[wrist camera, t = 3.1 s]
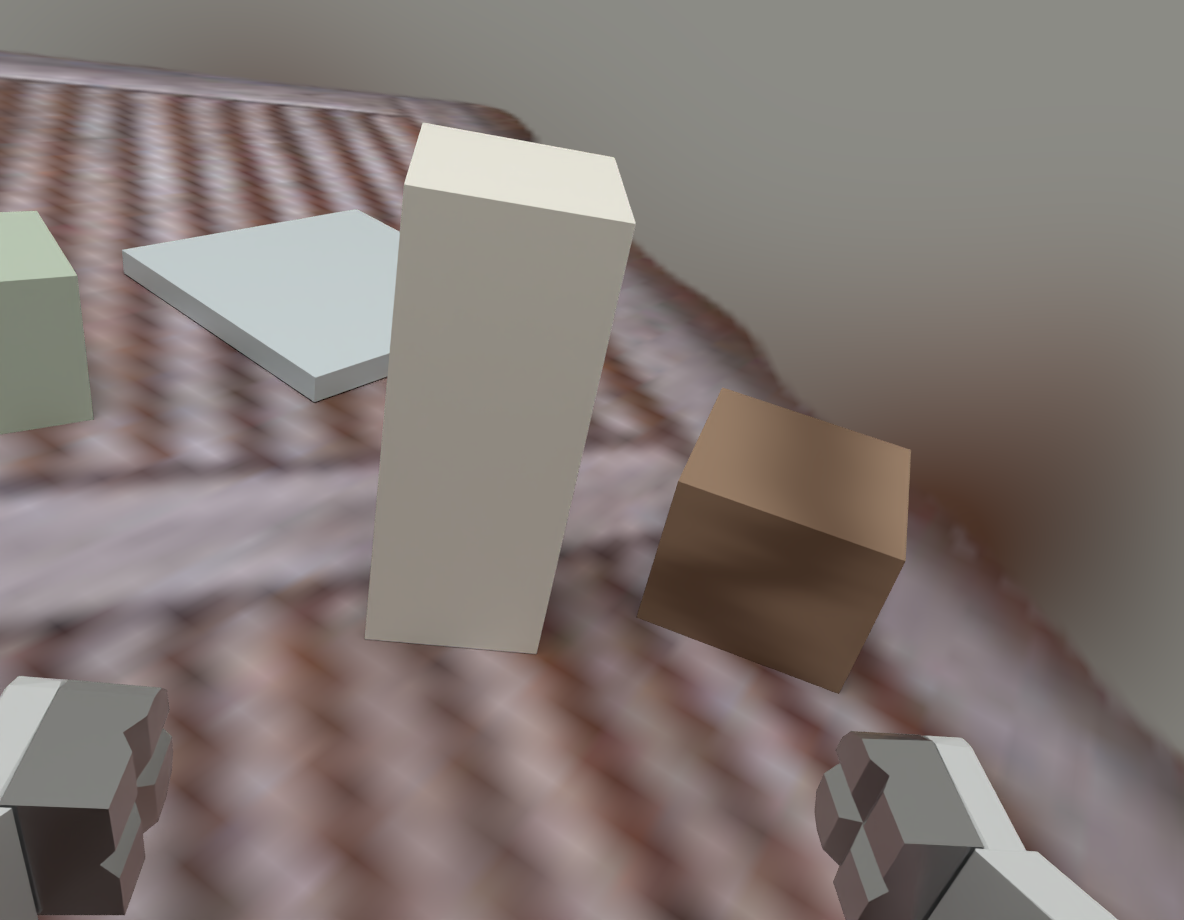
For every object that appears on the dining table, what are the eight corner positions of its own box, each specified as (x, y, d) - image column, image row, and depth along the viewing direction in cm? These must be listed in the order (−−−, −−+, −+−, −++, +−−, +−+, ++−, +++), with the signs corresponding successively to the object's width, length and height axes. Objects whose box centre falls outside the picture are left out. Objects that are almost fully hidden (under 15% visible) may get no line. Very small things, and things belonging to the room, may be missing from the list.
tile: (124, 273, 38) (122, 249, 37) (355, 228, 46) (356, 209, 46) (314, 402, 33) (315, 377, 32) (534, 324, 41) (537, 304, 41)
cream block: (364, 638, 24) (404, 184, 17) (384, 530, 28) (422, 122, 21) (536, 654, 25) (635, 223, 18) (533, 546, 28) (614, 157, 22)
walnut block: (635, 620, 27) (678, 481, 24) (682, 513, 32) (722, 387, 29) (837, 697, 26) (905, 560, 23) (852, 573, 31) (910, 450, 28)
